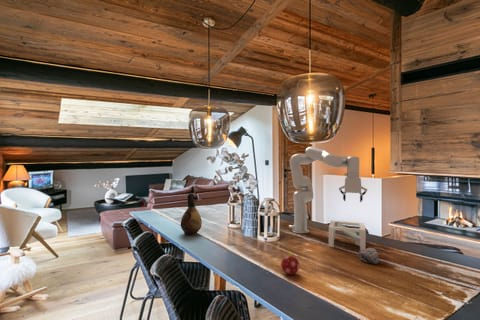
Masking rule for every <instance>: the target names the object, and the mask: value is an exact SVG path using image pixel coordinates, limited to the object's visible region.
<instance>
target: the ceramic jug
mask: <svg viewBox="0 0 480 320" xmlns="http://www.w3.org/2000/svg"><path fill="white" fill-rule="evenodd" d="M198 201H199V198H198V196H195V195H194V193H192V192H190V193H188V195H187V209H186V210H185V212H184V213H183V215H182V216H181V220H180V228H181V230H182V231H183V234H184V236H187V237H193V236H196V235H197V234H198V233H199V231H200V230H201V228H202V224H203V223H202V217H201V214H200V212H199V211H198V209H197V208H196V206H195V202H198Z"/></svg>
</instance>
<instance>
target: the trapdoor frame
mask: <svg viewBox="0 0 480 320" xmlns="http://www.w3.org/2000/svg"><path fill="white" fill-rule="evenodd" d="M336 222H338V223H340V224H342V225H343V226H345V227H335V224H336ZM346 226H355V227H347V228H346ZM356 226H357V227H359V228H356ZM336 231H340V232H342V231H351V232H356V233H358V236H360V246H359V251H361V250H364V249H367V248H366V242H367V241H366V239H367V236H366V233H367V232H366V225H365V223H364V222H353V221H344V220H343V221H342V220H330V221H329V225H328V247H330V248H335V240H336Z"/></svg>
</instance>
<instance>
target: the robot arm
mask: <svg viewBox="0 0 480 320" xmlns="http://www.w3.org/2000/svg"><path fill="white" fill-rule="evenodd" d="M315 161H319V162H322V163H324V164H325V165H327V166H331V167H333V168H346V172H345V173H344V176H345V179H344V185H342V186H340V187H338V190H339V193H341V194H342V199H343V202H346V197H347V196H346V194H348V193H349V194H351V193H352V194H353V193H354V194H359V195H360V196H359V202H360V203H362V202H363V198H364V197H363V196H364V195H365V194H367V191H368V188H365V187H364V186H362V178H361V177H360V157H359V156H355V155H353V156H346V155H335V154H331V153H329V151H328V150H325V149H323V148H321V147H319V146H308V147H307V148H305V153H295V154H293V155H291V157H290V159H289V169H290V171H291V172H290V173H291V180H292V185H293V188H295V189H298V190H297V191H295V192H294V193H293V195H292V199H293V200H292V201H293V206H294V207H293V211H294V213H293V214H294V217H293V219H294V220H293V221H294V222H293V225H291V224H288V228H289V229H291V231H292V232H293V233H295V234H296V233H297V234H308V233H309V232H310V230H309V229H308V207H307V205H306V203H309V202H311V201H312V200H313V199H314V189H313V185H312V184H313V183H312V180H311V178H310V177H309V176H306V175H305V176H304V172H303V169H302V167H301V166H302V165H303V166H304V165H310V164H312V163H313V162H315ZM342 189H344V191H343V190H342ZM362 190H363V192H362Z"/></svg>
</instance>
